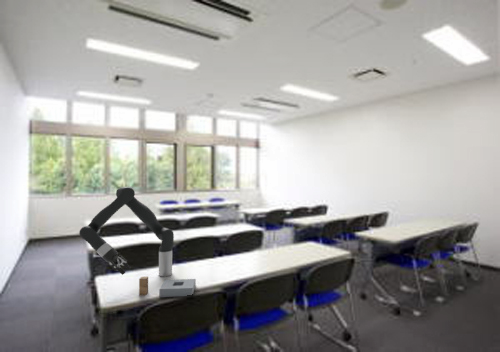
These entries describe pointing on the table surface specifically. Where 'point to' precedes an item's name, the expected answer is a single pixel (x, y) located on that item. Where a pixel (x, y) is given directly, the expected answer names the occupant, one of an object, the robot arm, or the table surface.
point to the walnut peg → (143, 286)
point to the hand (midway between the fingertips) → (127, 271)
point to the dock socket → (177, 287)
